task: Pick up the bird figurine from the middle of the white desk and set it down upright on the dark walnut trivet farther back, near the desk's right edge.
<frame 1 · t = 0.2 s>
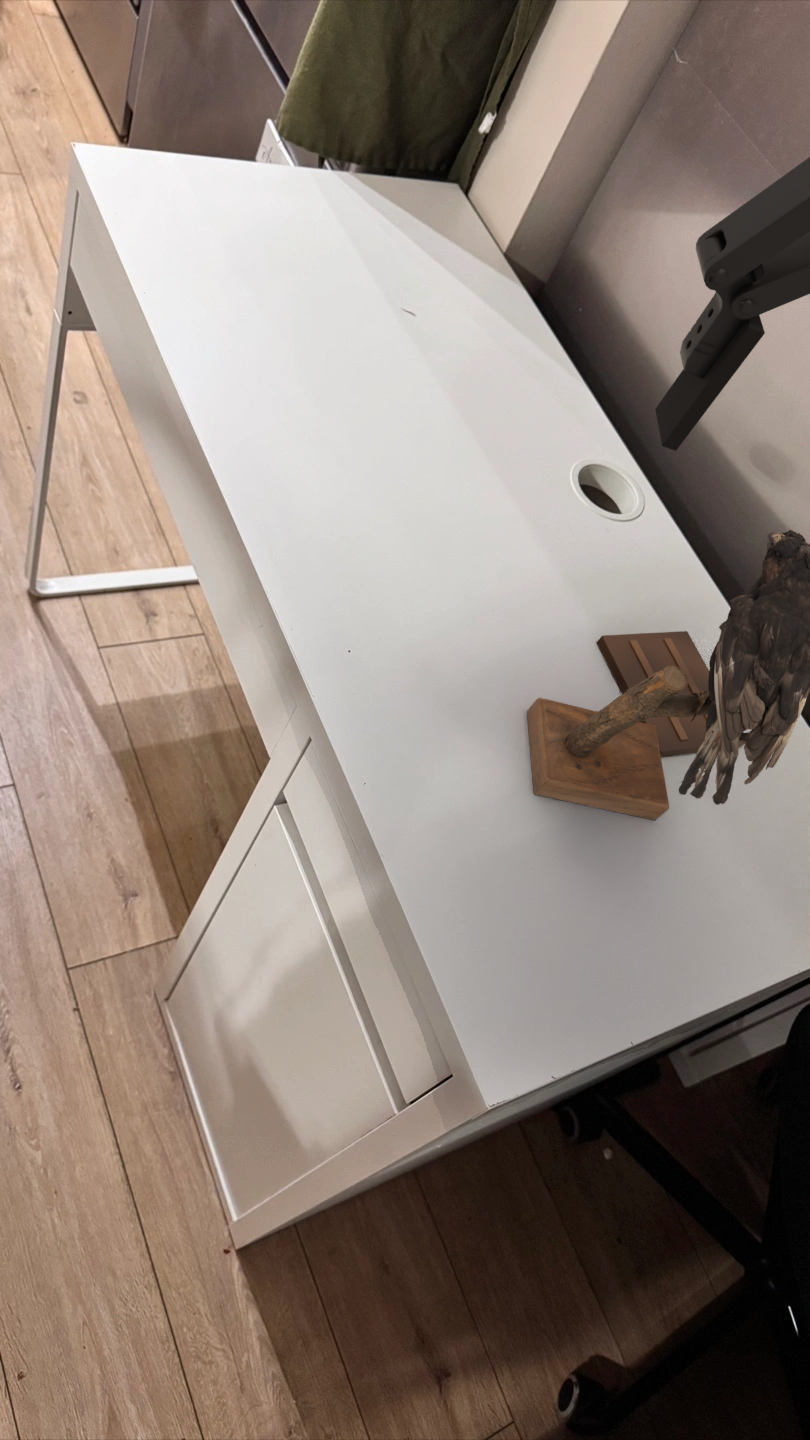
hand: (785, 474, 49), 34 cm above the table, tool pointing down, fingers open, 13 cm apart
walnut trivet: (668, 694, 89), on the table
bird figurine: (593, 800, 79), on the table
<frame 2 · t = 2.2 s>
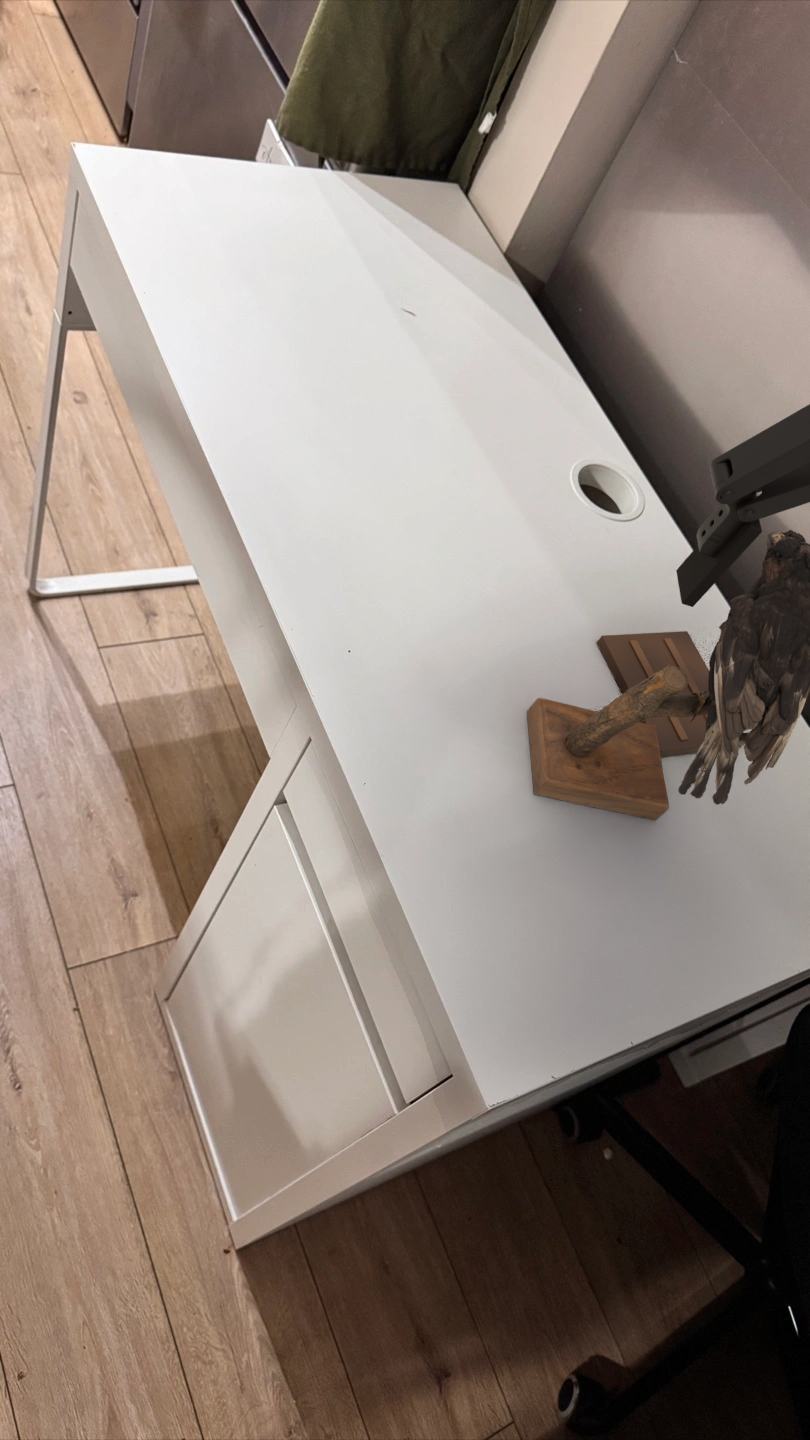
hand: (779, 619, 62), 23 cm above the table, tool pointing down, fingers open, 13 cm apart
nothing on the table moved.
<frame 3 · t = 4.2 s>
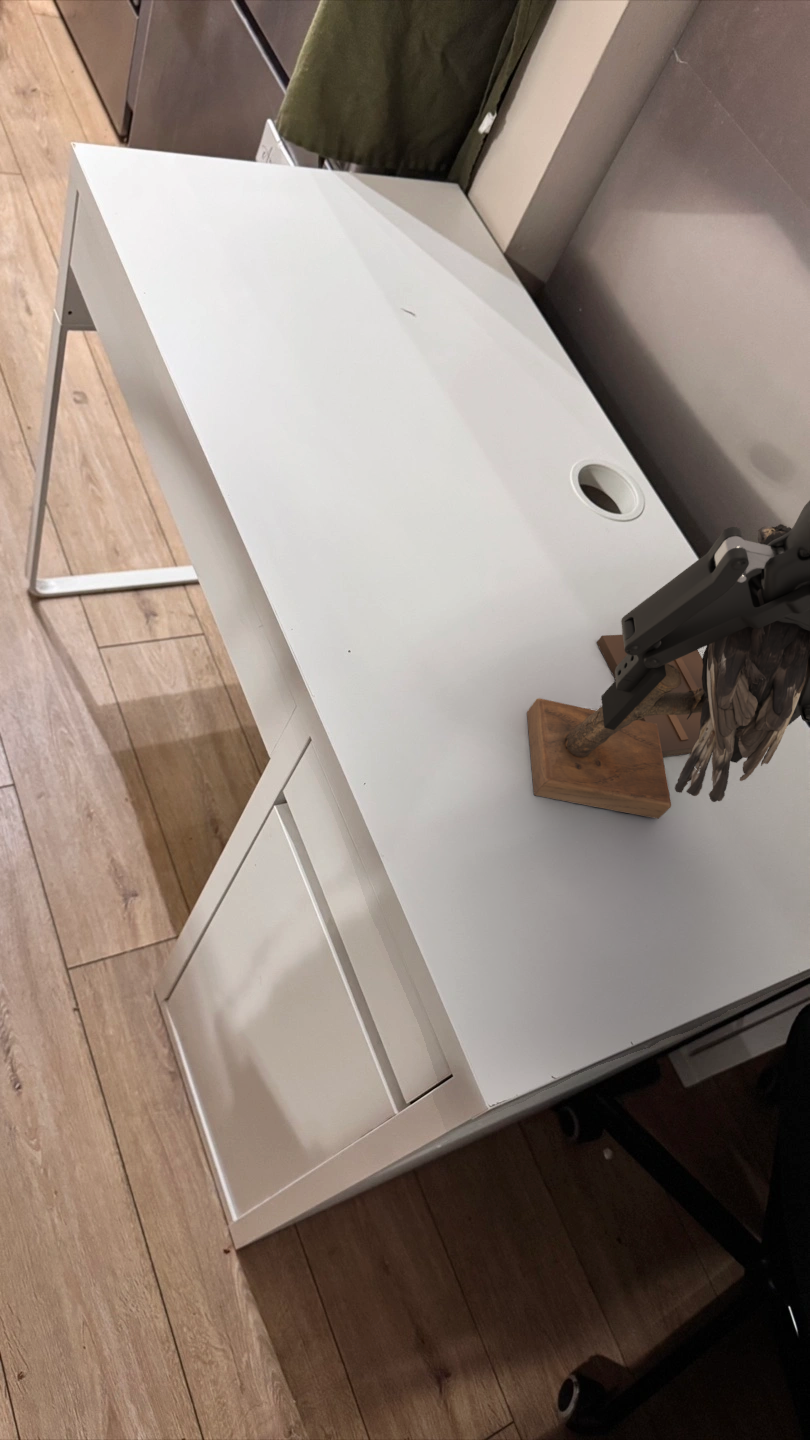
hand: (669, 729, 71), 10 cm above the table, tool pointing down, fingers closed on bird figurine, 9 cm apart
bird figurine: (594, 800, 79), on the table, touching gripper
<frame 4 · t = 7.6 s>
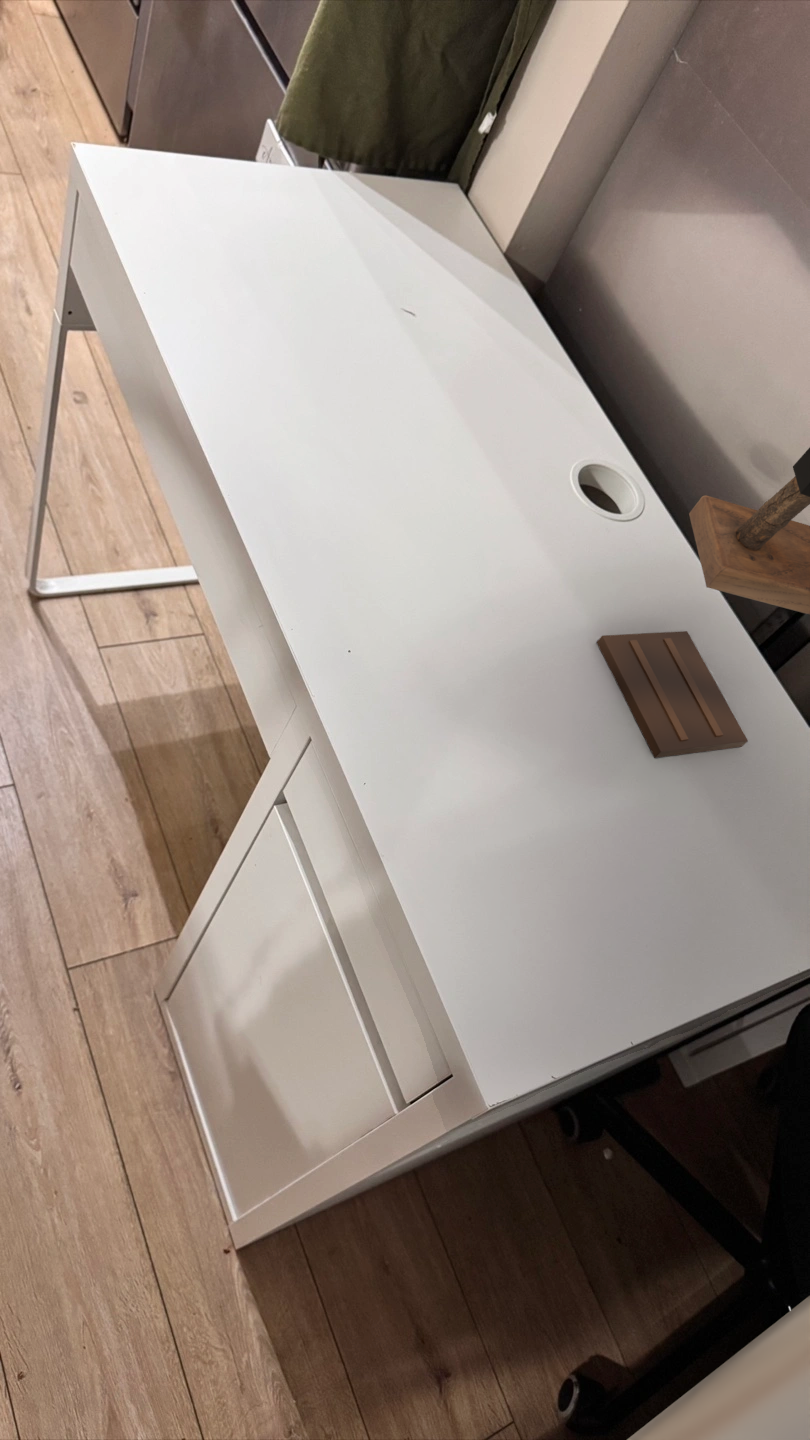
bird figurine: (764, 598, 76), point 15 cm above the table, touching gripper
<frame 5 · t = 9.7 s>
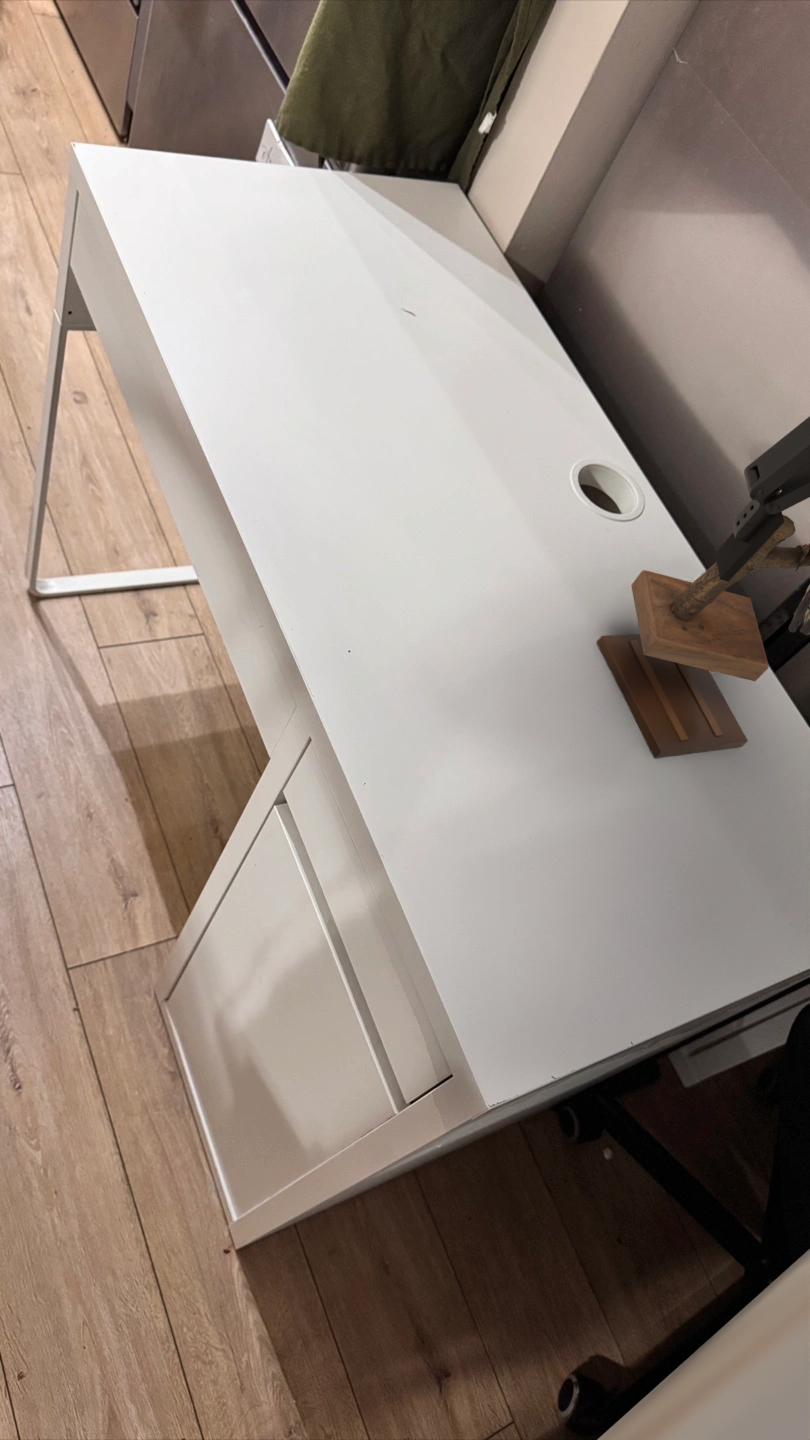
hand: (776, 585, 78), 15 cm above the table, tool pointing down, fingers closed on bird figurine, 9 cm apart
bird figurine: (696, 663, 85), point 5 cm above the table, touching gripper
when the fingers open (11 cm above the table, at t = 11.1 s): bird figurine stays where it is, resting on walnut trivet.
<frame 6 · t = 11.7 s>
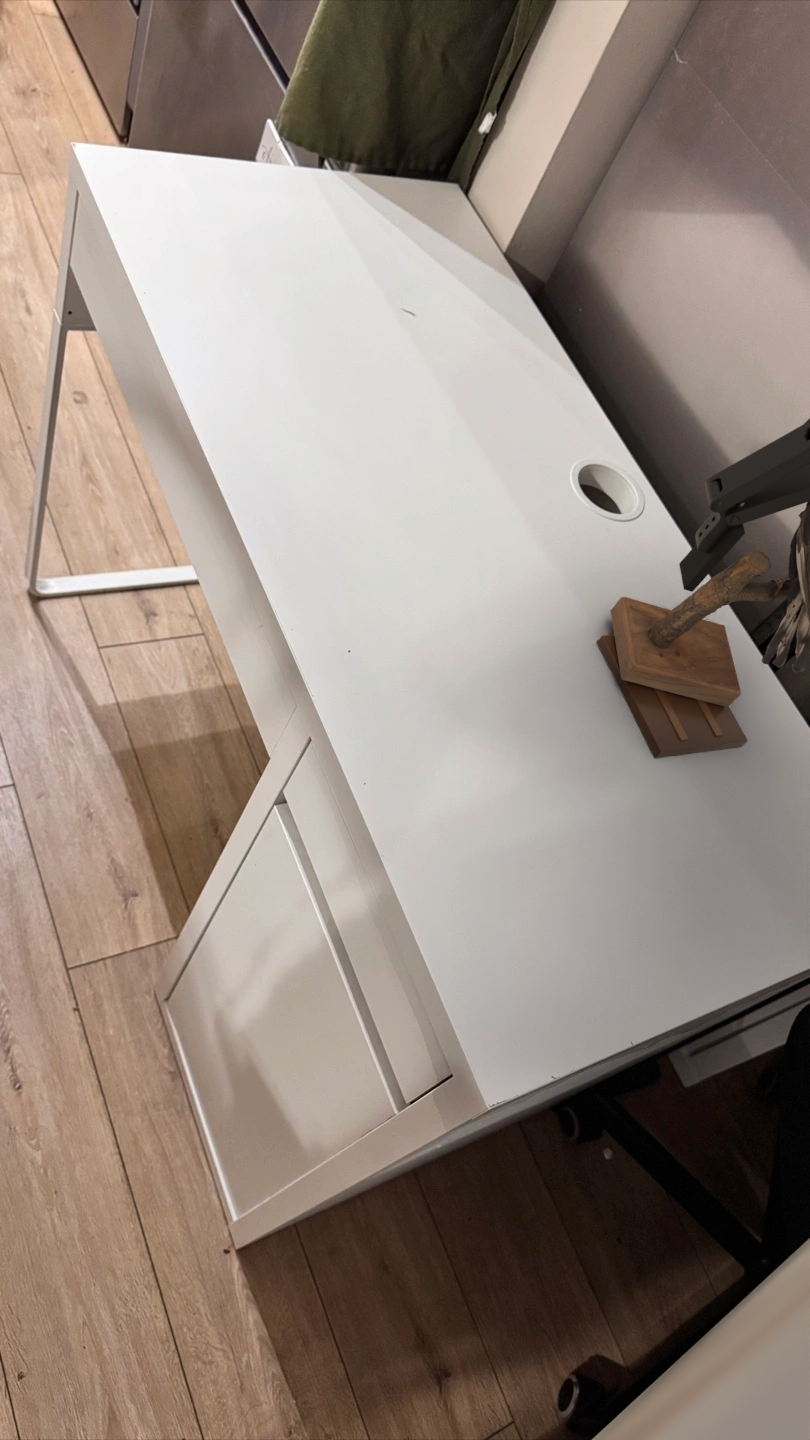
hand: (759, 602, 79), 13 cm above the table, tool pointing down, fingers open, 13 cm apart
bird figurine: (672, 688, 88), point 1 cm above the table, touching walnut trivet
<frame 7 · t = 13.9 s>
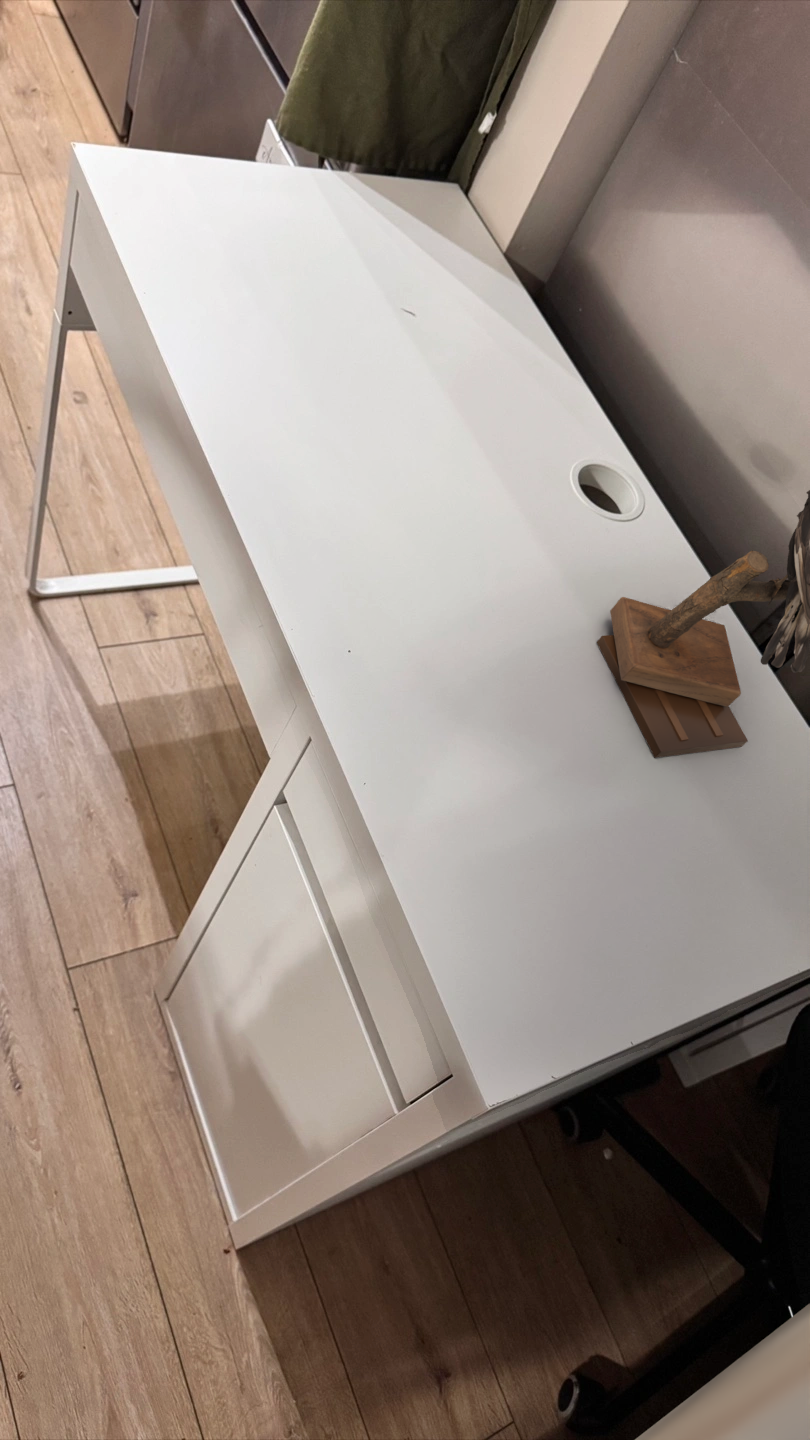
nothing on the table moved.
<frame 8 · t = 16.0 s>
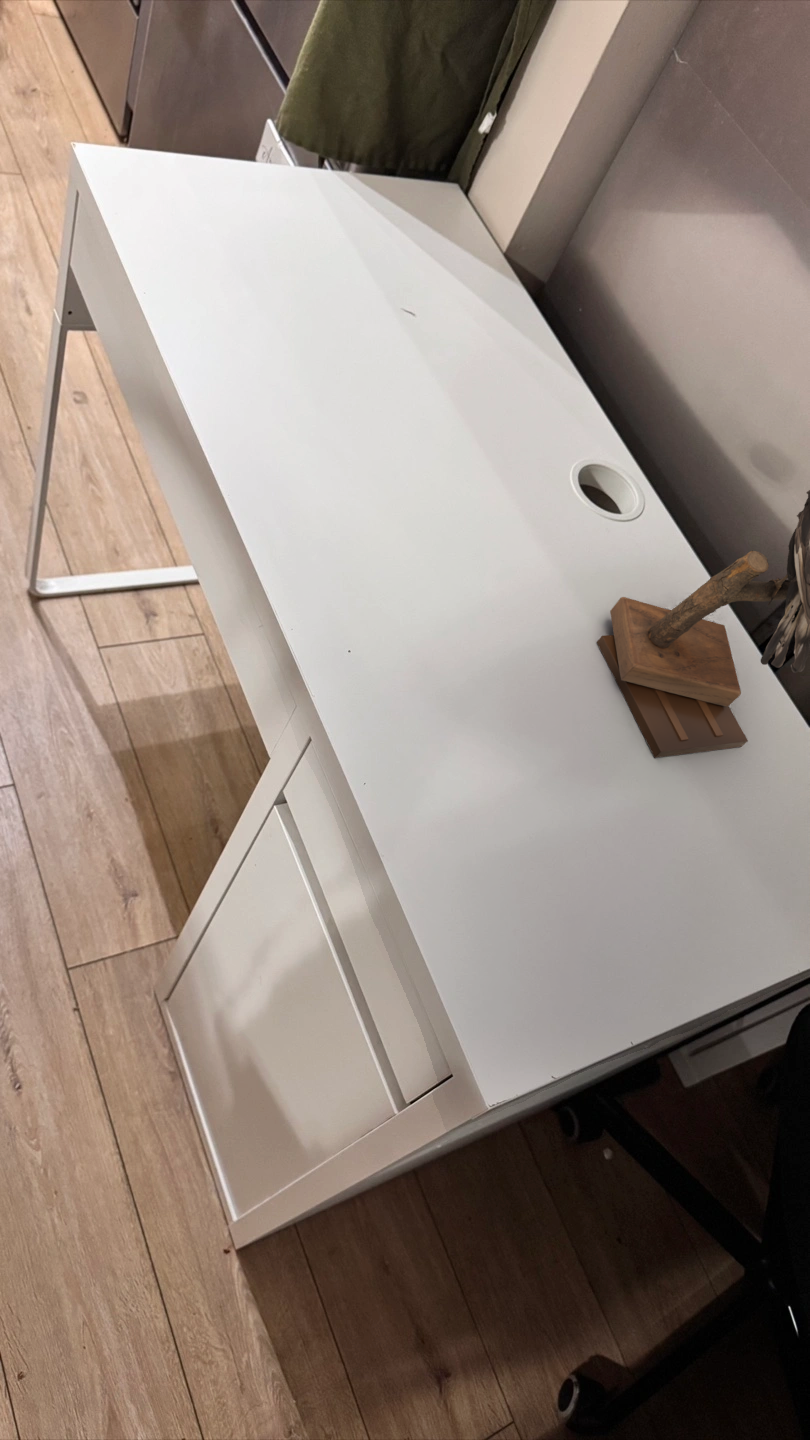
nothing on the table moved.
at the end: bird figurine 0.3 cm off-centre on the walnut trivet, point 1.0 cm above the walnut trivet's base; bird figurine tilted 0°; the gripper is holding nothing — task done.
